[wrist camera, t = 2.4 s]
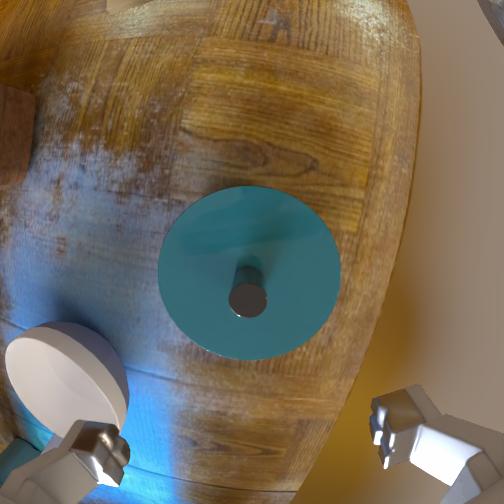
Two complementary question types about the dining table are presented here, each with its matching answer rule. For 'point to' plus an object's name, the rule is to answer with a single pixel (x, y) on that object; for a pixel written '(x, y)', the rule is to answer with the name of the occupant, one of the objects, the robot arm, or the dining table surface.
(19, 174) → the bread
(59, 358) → the bowl
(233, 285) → the pot lid
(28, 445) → the flower pot
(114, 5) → the board
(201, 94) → the dining table surface
